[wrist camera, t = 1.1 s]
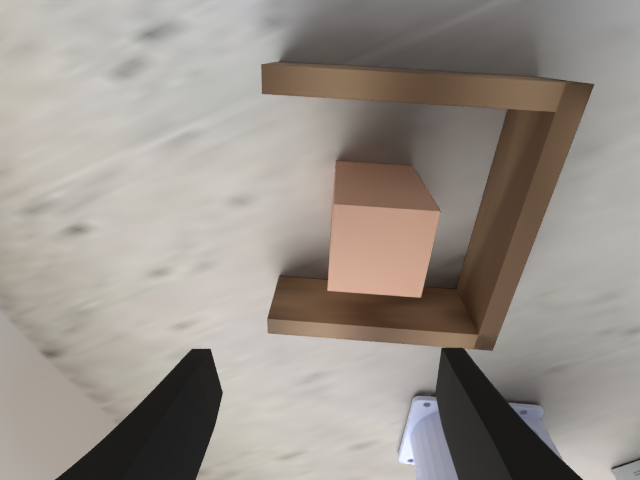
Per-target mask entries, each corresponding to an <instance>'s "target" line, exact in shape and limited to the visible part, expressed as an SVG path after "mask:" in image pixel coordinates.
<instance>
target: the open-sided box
mask: <svg viewBox="0 0 640 480" xmlns="http://www.w3.org/2000/svg"><path fill="white" fill-rule="evenodd" d="M261 68H262V94H273V95H289V96H305V97H322V98H338V99H354V100H370V101H387V102H403V103H419V104H435V105H452V106H468V107H484V108H500V109H508V110H507V114H506V117H505V121H504V124H503V128H502V131H501V135H500V138H499V142H498V145H497V149H496V152H495V156H494V159H493V163H492V166H491V170H490V173H489V177H488V180H487V184H486V187H485V191H484V194H483V198H482V201H481V205H480V208H479V212H478V215H477V219H476V222H475V226H474V229H473V233H472V236H471V240H470V243H469V247H468V250H467V254H466V257H465V261H464V264H463V268H462V271H461V275H460V278H459V282H458V285H457V289H446V288H432V287H423V291H422V295H421V298H418V297H405V296H391V295H378V294H364V293H350V292H337V291H327V288H328V280H323V279H310V278H296V277H282V276H279V279H278V282H277V286H276V290H275V293H274V297H273V301H272V304H271V308H270V311H269V315H268V319H267V322H268V333H271V334H284V335H297V336H310V337H323V338H336V339H349V340H362V341H375V342H388V343H401V344H414V345H427V346H439V347H452V348H465V349H478V350H491V351H492V350H493V348H494V345H495V343H496V340H497V337H498V335H499V332H500V330H501V327H502V324H503V322H504V319H505V317H506V314H507V311H508V309H509V306H510V303H511V301H512V298H513V296H514V293H515V290H516V288H517V285H518V283H519V280H520V277H521V275H522V272H523V269H524V267H525V264H526V262H527V259H528V256H529V254H530V251H531V249H532V246H533V243H534V241H535V238H536V235H537V233H538V230H539V228H540V225H541V222H542V220H543V217H544V215H545V212H546V209H547V207H548V204H549V201H550V199H551V196H552V194H553V191H554V188H555V186H556V183H557V181H558V178H559V175H560V173H561V170H562V167H563V165H564V162H565V160H566V157H567V154H568V152H569V149H570V147H571V144H572V141H573V139H574V136H575V133H576V131H577V128H578V126H579V123H580V120H581V118H582V115H583V113H584V110H585V107H586V105H587V102H588V99H589V97H590V94H591V92H592V89H593V86H594V84H588V83H580V82H573V81H565V80H558V79H550V78H542V77H529V76H512V75H495V74H479V73H462V72H445V71H428V70H411V69H394V68H378V67H361V66H344V65H327V64H310V63H294V62H273V63H267V64H261Z"/></svg>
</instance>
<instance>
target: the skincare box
mask: <svg viewBox="0 0 640 480" xmlns="http://www.w3.org/2000/svg"><path fill="white" fill-rule="evenodd" d="M611 473H612V475H613V476H614V478H615V479H616V480H640V460H638V461H636V462H633V463H630V464H627V465H624V466H621V467H617V468H614V469H612V470H611Z"/></svg>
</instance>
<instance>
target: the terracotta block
mask: <svg viewBox="0 0 640 480" xmlns="http://www.w3.org/2000/svg"><path fill="white" fill-rule="evenodd" d="M440 213H441V211H440V209H439V208H438V206H437V204H436V203H435V201H434V200H433V198H432V196H431V195H430V193H429V192H428V190H427V188H426V187H425V185H424V184H423V182H422V180H421V179H420V177H419V176H418V174H417V172H416V171H415V169H414V168H413V166H406V165H391V164H376V163H361V162H346V161H336V166H335V180H334V193H333V207H332V220H331V235H330V253H329V270H328V288H327V291H337V292H350V293H364V294H378V295H391V296H405V297H418V298H421V295H422V291H423V287H424V282H425V278H426V274H427V269H428V265H429V261H430V256H431V252H432V248H433V243H434V239H435V235H436V230H437V226H438V222H439V217H440Z"/></svg>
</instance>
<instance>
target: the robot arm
mask: <svg viewBox="0 0 640 480" xmlns="http://www.w3.org/2000/svg"><path fill="white" fill-rule="evenodd" d="M222 394H223V392H222V389H221V385H220V381H219V378H218V374H217V371H216V367H215V363H214V360H213V356H212V352H211V349H192V350H191V351H190V352H189V353H188V354H187V355H186V356H185V357H184V358H183V359H182V360H181V361H180V362H179V363H178V364H177V365H176V366H175V367H174V369H173V370H172V371H171V372H170V373H169V374H168V375H167V376H166V377H165V378H164V379H163V380H162V381H161V382H160V384H159V385H158V386H157V387H156V388H155V389H154V390H153V391H152V392H151V393H150V394H149V395H148V396H147V397H146V398H145V399H144V400H143V401H142V402H141V403H140V404H139V405H138V406H137V407H136V408H135V409H134V410H133V411H132V412H131V413H130V414H129V415H128V416H127V417H126V418H125V419H124V420H123V421H122V422H121V423H120V424H119V425H118V426H117V427H116V428H115V429H114V430H112V431H111V432H110V433H109V434H108V435H107V436H106V437H105V438H104V439H103V440H102V441H101V442H100V443H98V444H97V445H96V446H95V447H94V448H93V449H92V450H91V451H89V452H88V453H87V454H86V455H85V456H84V457H82V458H81V459H80V460H79V461H78V462H77V463H75V464H74V465H73V466H72V467H70V468H69V469H68V470H67V471H66V472H64V473H63V474H62V475H61V476H59V477H58V478H57V479H55V480H196V477H197V474H198V472H199V469H200V466H201V463H202V461H203V458H204V455H205V452H206V450H207V447H208V444H209V441H210V438H211V436H212V433H213V430H214V427H215V423H216V419H217V415H218V411H219V407H220V402H221V398H222ZM435 394H436V397H432V396H416V397H414V398H413V400H412V404H411V408H410V412H409V415H408V419H407V423H406V427H405V431H404V435H403V438H402V442H401V446H400V450H399V454H398V460H399V462H401V463H404V464H414V465H415V470H416V476H417V480H583V479H582V478H581V477H580V476H578V475H577V474H576V473H575V472H574V471H573V470H572V469H571V468H570V467H569V466H568V465H567V464H566V463H565V462H564V461H563V459H562V458H561V456H560V454H559V452H558V450H557V448H556V446H555V445H554V443H553V441H552V439H551V437H550V435H549V434H548V432H547V430H546V428H545V426H544V424H543V422H542V421H541V418H542V416H543V414H544V411H543V409H542V407H541V406H539V405H531V404H519V403H508V402H507V401H506V400H505V399H504V398H503V397H502V395H501V394H500V393H499V392H498V391H497V389H496V388H495V387H494V386H493V385H492V383H491V382H490V381H489V380H488V379H487V377H486V376H485V375H484V374H483V372H482V371H481V370H480V369H479V367H478V366H477V365H476V364H475V362H474V361H473V360H472V358H471V357H470V356H469V355H468V353H467V352H466V351H465V350H464V349H463V348H442V349H441V357H440V364H439V371H438V379H437V386H436V393H435Z"/></svg>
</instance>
